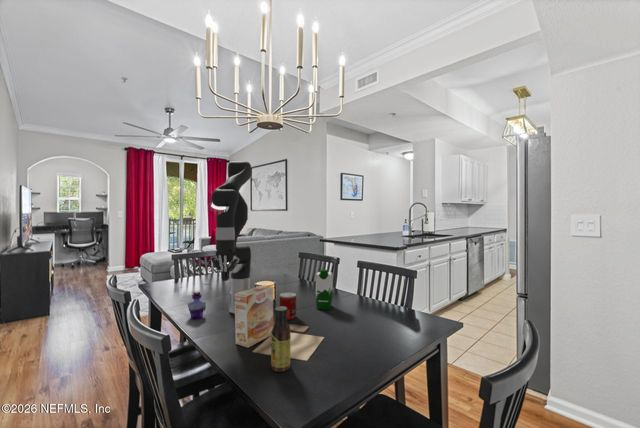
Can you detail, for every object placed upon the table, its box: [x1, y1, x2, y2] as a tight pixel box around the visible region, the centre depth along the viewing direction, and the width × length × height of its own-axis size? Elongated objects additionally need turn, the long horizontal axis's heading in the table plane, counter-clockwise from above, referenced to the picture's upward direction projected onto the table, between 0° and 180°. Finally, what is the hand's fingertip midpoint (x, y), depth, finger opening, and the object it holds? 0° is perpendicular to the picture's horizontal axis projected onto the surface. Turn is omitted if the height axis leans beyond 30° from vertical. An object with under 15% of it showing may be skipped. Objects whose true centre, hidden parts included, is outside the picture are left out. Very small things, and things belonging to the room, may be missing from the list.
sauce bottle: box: [270, 305, 291, 373], centre depth 100 cm, size 7×6×20 cm
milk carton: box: [315, 269, 334, 310], centre depth 162 cm, size 9×9×20 cm
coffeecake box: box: [234, 285, 274, 348], centre depth 122 cm, size 15×7×20 cm, turn 148°
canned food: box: [279, 291, 297, 321], centre depth 147 cm, size 8×8×11 cm
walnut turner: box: [273, 321, 310, 334], centre depth 134 cm, size 21×6×1 cm, turn 72°
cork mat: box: [252, 331, 325, 362], centre depth 117 cm, size 21×20×1 cm
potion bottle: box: [187, 291, 207, 320], centre depth 146 cm, size 9×9×12 cm
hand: (225, 280), depth 126 cm, fingers closed
